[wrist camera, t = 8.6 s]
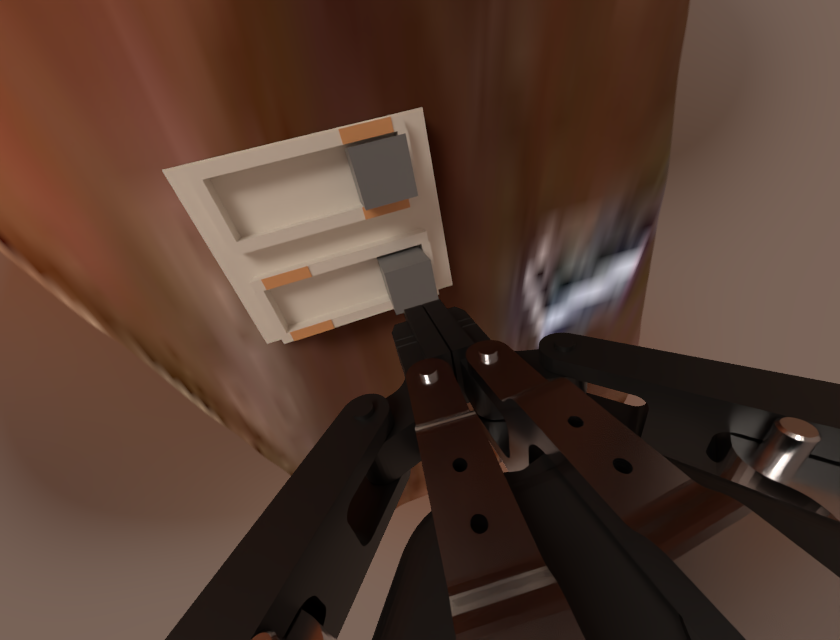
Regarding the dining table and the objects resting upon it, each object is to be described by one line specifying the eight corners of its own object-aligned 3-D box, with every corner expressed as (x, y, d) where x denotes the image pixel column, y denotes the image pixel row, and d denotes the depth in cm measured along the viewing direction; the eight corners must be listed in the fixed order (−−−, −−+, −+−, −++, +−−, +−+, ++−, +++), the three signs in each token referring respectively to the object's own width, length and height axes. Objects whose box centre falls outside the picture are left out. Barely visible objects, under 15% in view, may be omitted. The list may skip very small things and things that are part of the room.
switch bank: (174, 169, 23) (150, 170, 20) (416, 110, 25) (427, 104, 22) (270, 333, 31) (264, 352, 28) (446, 278, 34) (458, 290, 31)
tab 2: (376, 256, 28) (384, 273, 24) (415, 244, 29) (430, 259, 24) (387, 292, 30) (396, 314, 26) (424, 281, 31) (439, 301, 26)
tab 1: (344, 149, 24) (347, 147, 19) (392, 137, 24) (405, 133, 20) (360, 201, 26) (365, 210, 21) (404, 189, 26) (418, 195, 22)
